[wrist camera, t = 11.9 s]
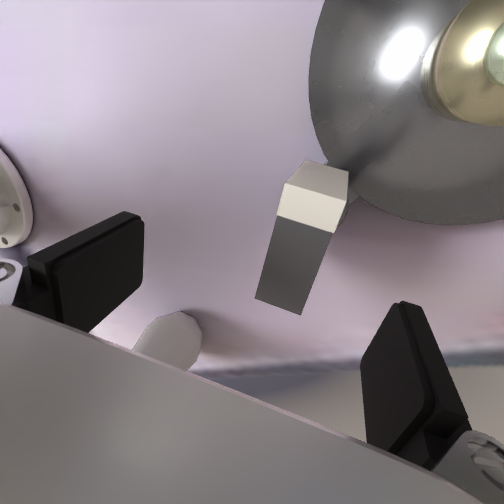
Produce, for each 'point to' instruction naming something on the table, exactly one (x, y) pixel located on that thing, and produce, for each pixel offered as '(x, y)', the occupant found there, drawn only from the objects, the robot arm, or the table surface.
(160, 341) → the salt shaker
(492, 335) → the table surface
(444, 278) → the table surface
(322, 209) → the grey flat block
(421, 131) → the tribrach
